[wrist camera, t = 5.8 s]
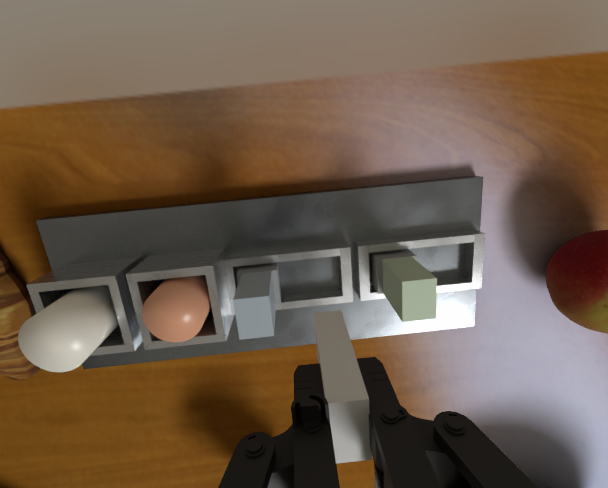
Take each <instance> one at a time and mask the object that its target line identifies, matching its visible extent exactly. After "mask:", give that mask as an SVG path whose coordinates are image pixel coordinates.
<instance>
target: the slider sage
mask: <svg viewBox="0 0 608 488" xmlns="http://www.w3.org/2000/svg"><path fill="white" fill-rule="evenodd" d="M371 265H372V285H373V287H374V288H375V290H376V292H377V293H378V294H384V295H385V297H386V298H387V300H388V301H389V303H390V304H391V306H392V307H393V309H394V310H395V312H396V313H397V315H398V316H399V318H400V319H401V321H402V322H407V321H416V320H425V319H435V318H436V301H437V278H436V277H435V276H434V275H433V274H432V273H430V272H429V271H428V270H427V269H426V268H425V267H423V266H422V265H421V264H420V263H419V262H418V261H417V256H416V255H415V254H414V253H413V252H411V251H410V250H409V249H402V250H392V251H382V252H372V253H371Z"/></svg>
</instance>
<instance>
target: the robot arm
mask: <svg viewBox="0 0 608 488" xmlns="http://www.w3.org/2000/svg"><path fill="white" fill-rule="evenodd" d="M314 324H315V335H316V346H317V357H318V364H309V365H299V366H298V367H297V369H296V370H295V372H294V401H293V402H292V406H291V412H292V420H293V423H292V425H291V427H290V428H289V429H288V430H287V431H285V432H284V433H282V434H280V435H278V436H276V437H273V438H272V437H270V436H269V435H268V434H266V433H262V432H256V433H252V434H249V435H247V436H245V437H244V438H243V439H242V440H241V441H240V442H239V443H238V445H237V447H236V449H235V451H234V453H233V456H232V458H231V460H230V462H229V465H228V467H227V469H226V471H225V474H224V476H223V478H222V480H221V483H220V485H219V487H218V488H340V487H339V480H338V473H337V466H336V463H344V462H354V461H363V460H372V459H371V452H372V456H373V459H374V469H375V488H537V487H536V486H535V485H534V484H533V483H532V482H531V481H530V480H529V479H528V478H527V477H526V476H525V475H524V474H523V473H522V472H521V471H520V470H519V469H518V468H517V467H516V465H515V464H514V463H513V462H512V461H511V460H510V459H509V458H508V457H507V456H506V455H505V454H504V453H503V452H502V451H501V450H500V449H499V448H498V447H497V446H496V445H495V444H494V443H493V442H492V441H491V440H490V439H489V438H488V437H487V436H486V435H485V434H484V433H483V432H482V431H481V430H480V429H479V428H478V427H477V426H476V425H475V424H474V423H473V422H472V421H471V420H469V419H468V418H467V417H466V416H464V415H462V414H459V413H457V412H451V411H446V412H441V413H439V414H438V415H436V417H435V419H434V421H431V420H425V419H420V418H416V417H414V416H412V415H410V414H409V413H408V412H407V411H406V409H405V408H403V407H402V406H401V405H400V404H399V401H398V399H397V397H396V394H395V392H394V390H393V387H392V385H391V382H390V380H389V378H388V375H387V373H386V371H385V368H384V366H383V364H382V363H381V362H380V361H379V360H378V359H377V358H376V357H370V358H360V359H356V356H355V353H354V349H353V346H352V343H351V340H350V337H349V333H348V330H347V327H346V324H345V321H344V317H343V314H342V311H341V310H337V311H327V312H317V313H314Z"/></svg>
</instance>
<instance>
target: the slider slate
mask: <svg viewBox="0 0 608 488" xmlns="http://www.w3.org/2000/svg"><path fill="white" fill-rule="evenodd" d="M237 280H238V287H237V290H236V293H235V295H234V298H233V303H234V309H235V315H236V321H237V327H238V333H239V339H240V340H242V339H251V338H260V337H270V336H274V329H275V312H276V305H280V304H281V287H280V278H279V270H278V262H275V263H266V264H256V265H246V266H240V267H239V269H238V272H237Z"/></svg>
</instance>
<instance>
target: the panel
mask: <svg viewBox="0 0 608 488" xmlns="http://www.w3.org/2000/svg"><path fill="white" fill-rule="evenodd" d="M482 187H483V177H480V176H469V177H459V178H449V179H439V180H428V181H418V182H408V183H398V184H387V185H377V186H367V187H357V188H346V189H336V190H326V191H316V192H305V193H295V194H285V195H275V196H264V197H254V198H244V199H234V200H223V201H213V202H203V203H193V204H182V205H172V206H162V207H152V208H141V209H131V210H121V211H111V212H100V213H90V214H80V215H69V216H59V217H49V218H43V219H39V220H36V223H37V226H38V229H39V232H40V235H41V238H42V241H43V244H44V247H45V251H46V254H47V257H48V260H49V263H50V266H51V269H52V271H51V272H49V273H48V274H46V275H44V276H42V277H40V278H38V279H36V280H34V281H32V282H30V283H29V284H27V288H28V291H29V294H30V297H31V299H32V302H33V305H34V308H35V311H36V314H37V313H38V312H40V311H41V310H43V309H44V308H46V307H48V306H49V305H51V304H52V303H54V302H55V301H57V300H58V299H60V298H61V297H63V296H64V295H66V294H67V293H69V292H70V291H72V290H73V289H75V288H82V287H92V286H101V285H102V286H104V287H106V288H108V289H109V290H110V293H111V297H112V300H113V304H114V308H115V311H116V315H117V319H118V322H119V325H118V326H117V327H116V328H115V329H114V330H113V331H112V332H111V333H110V334H109V336H108V337H107V338H106V339H105V340H104V341H103V342H102V343H101V344H100V345H99V346H98V347H97V348H96V349H95V350H94V351H93V352H92V354H91V355H90V356H89V357H88V358H87V359H86V360H85V361H84V362H83V363H82V365H83V368H84V369H89V368H98V367H107V366H117V365H126V364H135V363H144V362H153V361H162V360H171V359H180V358H189V357H198V356H207V355H217V354H226V353H235V352H244V351H253V350H262V349H271V348H280V347H289V346H298V345H307V344H316V335H315V324H314V313H317V312H327V311H337V310H341V311H342V314H343V317H344V321H345V324H346V327H347V330H348V333H349V337H350V340H353V339H362V338H371V337H380V336H389V335H398V334H407V333H416V332H426V331H435V330H444V329H453V328H462V327H471V326H474V321H475V304H476V289H479V288H481V286H482V271H483V255H484V239H485V233H482V232H480V221H481V204H482ZM402 249H409V250H410V251H411V252H413V253H414V254H415V255H416V256H417V261H418V262H419V263H420V264H421V265H422V266H423V267H425V268H426V269H427V270H428V271H429V272H430V273H432V274H433V275H434V276H435V277H436V278H437V301H436V318H435V319H425V320H416V321H407V322H402V321H401V319H400V318H399V316H398V315H397V313H396V312H395V310H394V309H393V307H392V306H391V304H390V303H389V301H388V300H387V298H386V297H385V295H384V294H378V293H377V292H376V290H375V288H374V287H373V285H372V265H371V253H372V252H382V251H392V250H402ZM275 262H278V270H279V278H280V287H281V304H280V305H276V312H275V329H274V336H270V337H260V338H251V339H242V340H240V339H239V333H238V327H237V321H236V315H235V309H234V303H233V298H234V295H235V293H236V290H237V287H238V280H237V272H238V269H239V267H240V266H246V265H256V264H266V263H275ZM198 275H206V280H207V286H208V291H209V296H210V302H211V309H210V311H209V313H208V315H207V317H206V319H205V321H204V324H203V326H202V328H201V330H200V331H199V332H198V333H197V334H196V335H195V336H194V337H193V338H191V339H189V340H187V341H184V342H167V341H164V340H161V339H159V338H157V337H156V336H154V335H153V334H152V333H151V332H150V331H149V330H148V329H147V327H146V326H145V324H144V321H143V317H142V310H143V306H144V303H145V301H146V300H147V298H148V297H149V296H150V295H151V294H152V293H153V292H154V291H155V290H156V289H157V288H158V286H159V285H160V284H161V283H162V282H163V281H164V280H165V279H169V278H179V277H189V276H198Z"/></svg>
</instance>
